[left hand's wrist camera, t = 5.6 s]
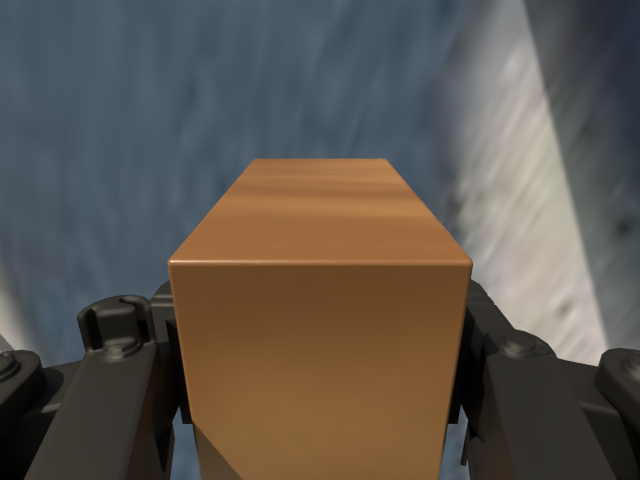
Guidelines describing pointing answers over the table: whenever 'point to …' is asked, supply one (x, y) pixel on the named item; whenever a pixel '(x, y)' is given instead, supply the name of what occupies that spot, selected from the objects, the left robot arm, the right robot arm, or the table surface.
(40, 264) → the table surface
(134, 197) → the table surface
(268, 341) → the bar
